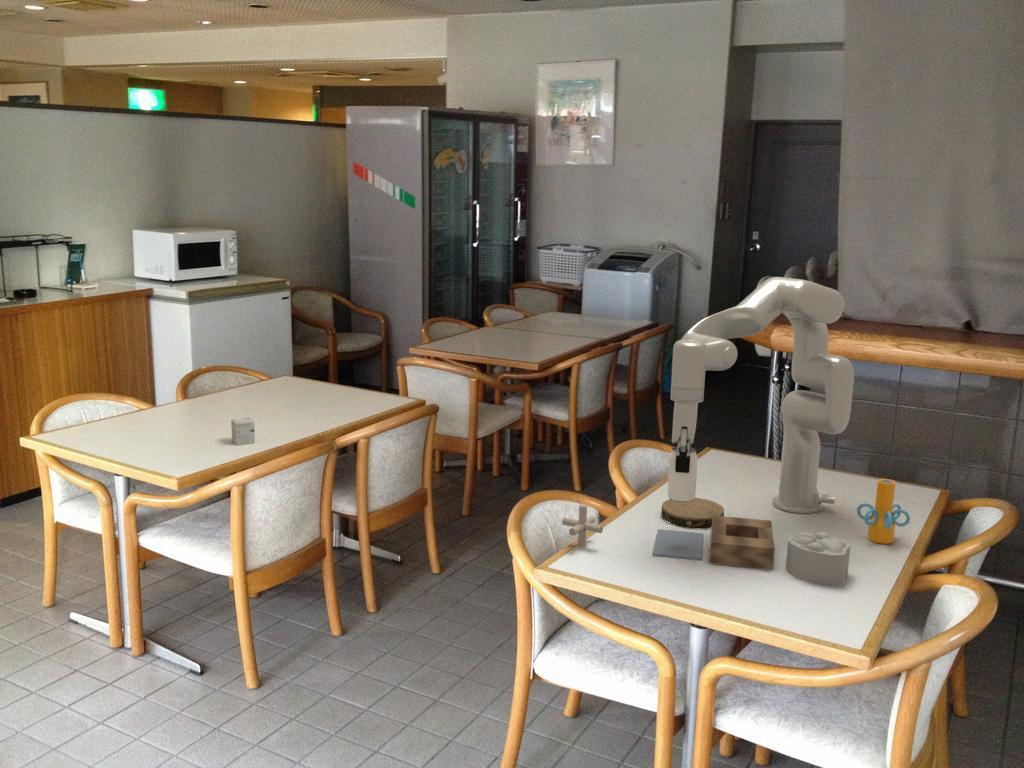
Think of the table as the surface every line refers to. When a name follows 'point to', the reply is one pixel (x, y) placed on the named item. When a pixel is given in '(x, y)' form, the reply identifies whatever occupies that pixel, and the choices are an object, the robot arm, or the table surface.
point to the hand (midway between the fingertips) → (682, 467)
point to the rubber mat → (678, 544)
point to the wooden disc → (691, 512)
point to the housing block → (742, 542)
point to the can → (682, 478)
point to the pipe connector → (582, 525)
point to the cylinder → (883, 514)
